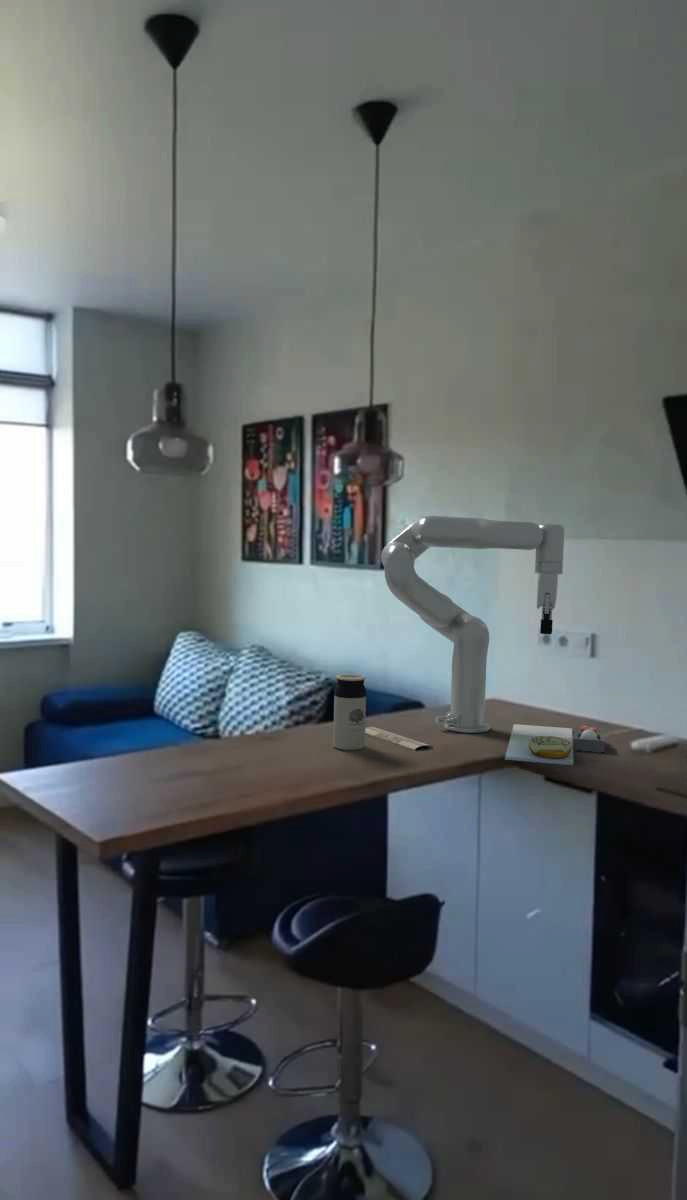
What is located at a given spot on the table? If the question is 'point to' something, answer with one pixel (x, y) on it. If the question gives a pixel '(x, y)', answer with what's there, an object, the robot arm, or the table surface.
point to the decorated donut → (550, 746)
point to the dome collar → (589, 743)
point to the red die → (587, 728)
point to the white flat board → (524, 733)
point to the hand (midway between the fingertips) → (546, 633)
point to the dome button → (589, 734)
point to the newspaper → (394, 738)
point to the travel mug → (349, 712)
